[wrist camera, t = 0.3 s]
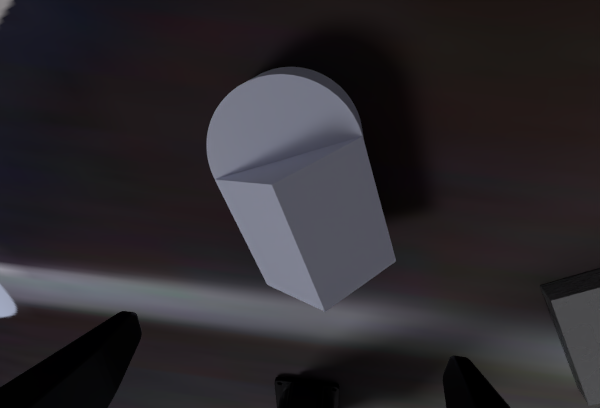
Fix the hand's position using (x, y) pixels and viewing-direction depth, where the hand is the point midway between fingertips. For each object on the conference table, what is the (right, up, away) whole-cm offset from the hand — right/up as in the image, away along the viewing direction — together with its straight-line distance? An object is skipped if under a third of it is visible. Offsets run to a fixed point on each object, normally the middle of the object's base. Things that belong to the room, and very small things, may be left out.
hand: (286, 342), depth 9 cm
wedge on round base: (+1, +6, +13) cm, 15 cm away
